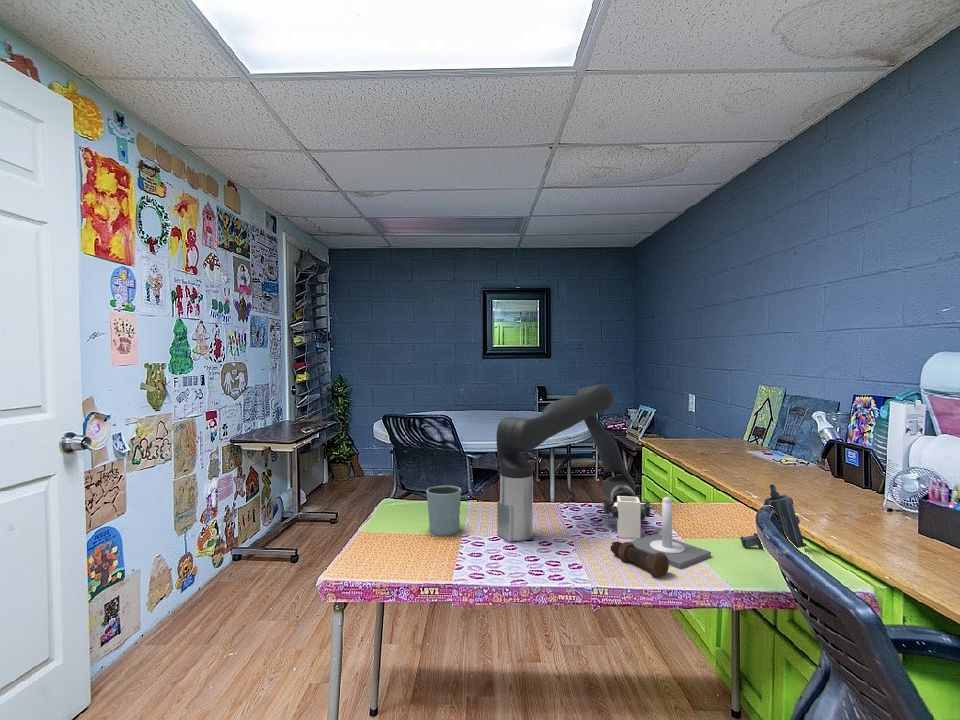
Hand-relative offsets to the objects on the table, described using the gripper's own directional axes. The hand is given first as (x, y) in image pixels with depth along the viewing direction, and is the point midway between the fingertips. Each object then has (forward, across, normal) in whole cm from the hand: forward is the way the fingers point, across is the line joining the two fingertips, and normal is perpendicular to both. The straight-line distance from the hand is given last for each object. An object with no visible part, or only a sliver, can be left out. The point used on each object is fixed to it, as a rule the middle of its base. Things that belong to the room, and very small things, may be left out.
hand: (629, 515), depth 137 cm
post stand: (+9, +8, +6) cm, 14 cm away
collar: (-2, 0, +6) cm, 6 cm away
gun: (+1, +36, +6) cm, 37 cm away
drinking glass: (+5, -52, +6) cm, 53 cm away
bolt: (+18, 0, +6) cm, 20 cm away
